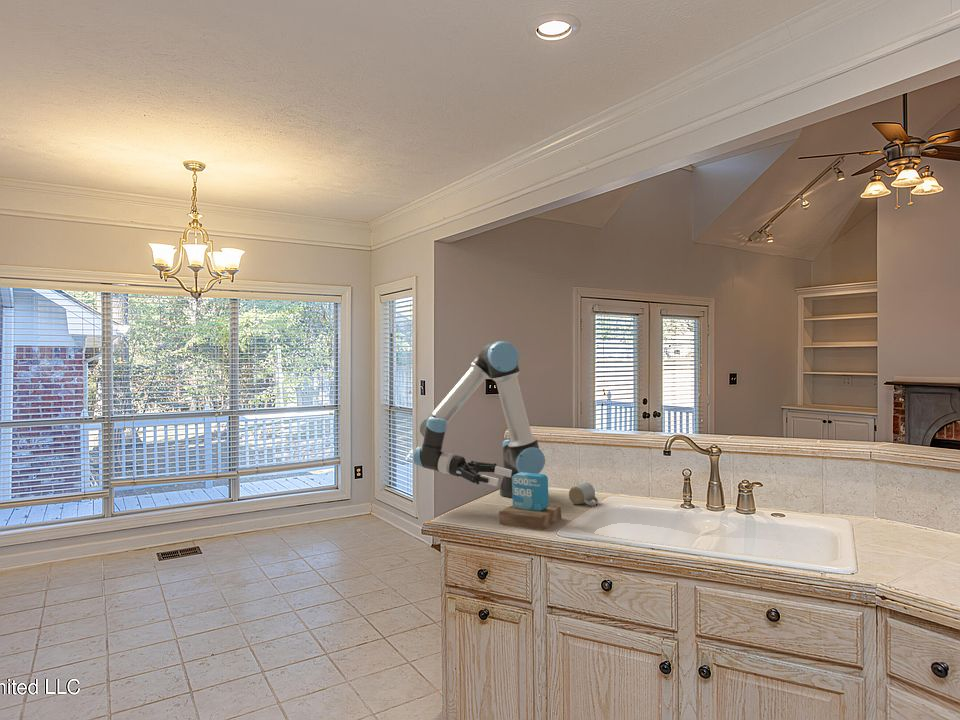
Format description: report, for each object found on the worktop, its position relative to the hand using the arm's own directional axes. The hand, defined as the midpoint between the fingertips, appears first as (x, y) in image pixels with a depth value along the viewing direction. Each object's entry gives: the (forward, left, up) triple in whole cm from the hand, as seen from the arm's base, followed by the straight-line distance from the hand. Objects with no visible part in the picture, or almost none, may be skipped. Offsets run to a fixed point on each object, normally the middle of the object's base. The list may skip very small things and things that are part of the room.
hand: (504, 478), depth 220 cm
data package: (+3, +12, -9) cm, 15 cm away
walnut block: (+3, +12, -14) cm, 19 cm away
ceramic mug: (-29, +19, -14) cm, 37 cm away
